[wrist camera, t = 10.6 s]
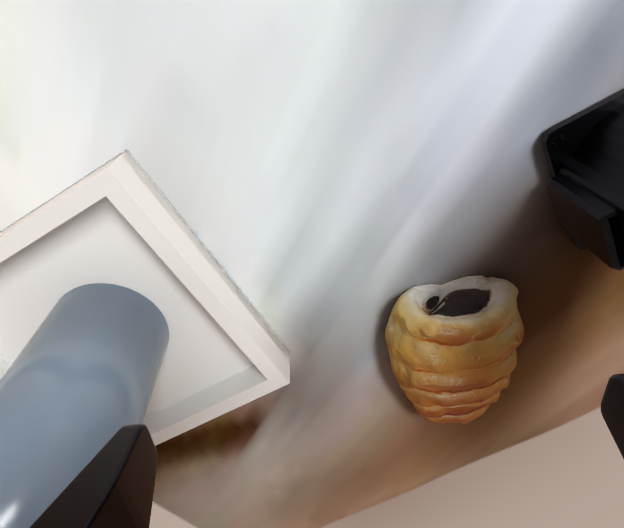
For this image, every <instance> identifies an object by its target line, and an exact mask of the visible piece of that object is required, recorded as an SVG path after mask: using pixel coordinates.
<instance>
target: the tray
mask: <svg viewBox="0 0 624 528" xmlns="http://www.w3.org/2000/svg"><path fill="white" fill-rule="evenodd" d="M93 283H108V284H115V285H119V286H123V287H126V288H129V289H132V290H134V291H136V292H138V293H140V294H142V295H143V296H145V297H146V298H148V299H149V300H150V301H152V302H153V303H154V304H155V305H156V306H157V307H158V309H159V310H160V311H161V312H162V314H163V315H164V317H165V319H166V321H167V324H168V328H169V342H168V346H167V349H166V352H165V355H164V358H163V362H162V365H161V368H160V371H159V374H158V377H157V380H156V383H155V386H154V389H153V393H152V396H151V399H150V402H149V405H148V408H147V411H146V414H145V417H144V420H143V424H145V425H146V426H147V428H148V430H149V433H150V435H151V438H152V440H153V442H154V445H155V446H156V445H158V444H160V443H162V442H164V441H167V440H169V439H171V438H173V437H175V436H177V435H180V434H182V433H184V432H186V431H188V430H190V429H192V428H195V427H197V426H199V425H201V424H203V423H205V422H208V421H210V420H212V419H214V418H216V417H218V416H221V415H223V414H225V413H227V412H229V411H231V410H233V409H236V408H238V407H240V406H242V405H244V404H246V403H249V402H251V401H253V400H255V399H257V398H259V397H261V396H264V395H266V394H268V393H270V392H272V391H274V390H277V389H279V388H281V387H283V386H285V385H287V384H290V351H289V350H288V349H287V348H286V346H285V345H284V344H283V343H282V341H281V340H280V339H279V338H278V336H277V335H276V334H275V333H274V331H273V330H272V329H271V328H270V326H269V325H268V324H267V323H266V322H265V320H264V319H263V318H262V317H261V315H260V314H259V313H258V312H257V310H256V309H255V308H254V307H253V305H252V304H251V303H250V302H249V300H248V299H247V298H246V297H245V296H244V294H243V293H242V292H241V291H240V289H239V288H238V287H237V286H236V284H235V283H234V282H233V281H232V279H231V278H230V277H229V276H228V275H227V273H226V272H225V271H224V270H223V268H222V267H221V266H220V265H219V263H218V262H217V261H216V260H215V258H214V257H213V256H212V255H211V253H210V252H209V251H208V250H207V249H206V247H205V246H204V245H203V244H202V242H201V241H200V240H199V239H198V237H197V236H196V235H195V234H194V232H193V231H192V230H191V229H190V227H189V226H188V225H187V224H186V223H185V221H184V220H183V219H182V218H181V216H180V215H179V214H178V213H177V211H176V210H175V209H174V208H173V206H172V205H171V204H170V203H169V201H168V200H167V199H166V198H165V197H164V195H163V194H162V193H161V192H160V190H159V189H158V188H157V187H156V185H155V184H154V183H153V182H152V180H151V179H150V178H149V177H148V175H147V174H146V173H145V172H144V171H143V169H142V168H141V167H140V166H139V164H138V163H137V162H136V161H135V159H134V158H133V157H132V156H131V154H130V153H129V152H128V151H127V150H125V151H124V152H122V153H121V154H119V155H117V156H116V157H114V158H113V159H111V160H110V161H108V162H107V163H105V164H104V165H102V166H101V167H99V168H98V169H96V170H94V171H93V172H91V173H90V174H88V175H87V176H85V177H84V178H82V179H81V180H79V181H78V182H76V183H75V184H73V185H72V186H70V187H68V188H67V189H65V190H64V191H62V192H61V193H59V194H58V195H56V196H55V197H53V198H52V199H50V200H49V201H47V202H45V203H44V204H42V205H41V206H39V207H38V208H36V209H35V210H33V211H32V212H30V213H29V214H27V215H26V216H24V217H22V218H21V219H19V220H18V221H16V222H15V223H13V224H12V225H10V226H9V227H7V228H6V229H4V230H3V231H1V232H0V380H1V378H2V377H3V376H4V374H5V373H6V371H7V370H8V369H9V367H10V366H11V365H12V363H13V362H14V360H15V359H16V358H17V356H18V355H19V354H20V352H21V351H22V349H23V348H24V347H25V345H26V344H27V343H28V341H29V340H30V338H31V337H32V336H33V334H34V333H35V332H36V330H37V329H38V327H39V326H40V325H41V323H42V322H43V321H44V319H45V318H46V316H47V315H48V314H49V312H50V311H51V310H52V308H53V307H54V305H55V304H56V303H57V301H58V300H59V299H60V298H61V297H62V296H63V295H64V294H65V293H67V292H68V291H70V290H72V289H74V288H76V287H79V286H82V285H87V284H93Z"/></svg>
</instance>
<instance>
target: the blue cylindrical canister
mask: <svg viewBox="0 0 624 528" xmlns="http://www.w3.org/2000/svg"><path fill="white" fill-rule="evenodd" d="M168 342H169V328H168V324H167V321H166V319H165V317H164V315H163V314H162V312H161V311H160V310H159V309H158V307H157V306H156V305H155V304H154V303H153V302H152V301H150V300H149V299H148V298H146V297H145V296H143V295H142V294H140V293H138V292H136V291H134V290H132V289H129V288H126V287H123V286H119V285H115V284H108V283H93V284H87V285H82V286H79V287H76V288H74V289H72V290H70V291H68V292H67V293H65V294H64V295H63V296H62V297H61V298H60V299H59V300H58V301H57V303H56V304H55V305H54V307H53V308H52V310H51V311H50V312H49V314H48V315H47V316H46V318H45V319H44V321H43V322H42V323H41V325H40V326H39V327H38V329H37V330H36V332H35V333H34V334H33V336H32V337H31V338H30V340H29V341H28V343H27V344H26V345H25V347H24V348H23V349H22V351H21V352H20V354H19V355H18V356H17V358H16V359H15V360H14V362H13V363H12V365H11V366H10V367H9V369H8V370H7V371H6V373H5V374H4V376H3V377H2V378H1V380H0V528H29V527H30V526H31V525H32V524H33V523H34V522H35V521H36V520H37V518H38V517H39V516H40V515H41V514H42V513H43V512H44V511H45V510H46V509H47V508H48V506H49V505H50V504H51V503H52V502H53V501H54V500H55V499H56V498H57V497H58V496H59V494H60V493H61V492H62V491H63V490H64V489H65V488H66V487H67V486H68V485H69V484H70V482H71V481H72V480H73V479H74V478H75V477H76V476H77V475H78V474H79V473H80V472H81V470H82V469H83V468H84V467H85V466H86V465H87V464H88V463H89V462H90V461H91V460H92V458H93V457H94V456H95V455H96V454H97V453H98V452H99V451H100V450H101V449H102V448H103V446H104V445H105V444H106V443H107V442H108V441H109V440H110V439H111V438H112V437H113V435H114V434H115V433H116V432H117V431H118V430H119V429H120V428H121V427H123V426H125V425H132V424H143V420H144V417H145V414H146V411H147V408H148V405H149V402H150V399H151V396H152V393H153V389H154V386H155V383H156V380H157V377H158V374H159V371H160V368H161V365H162V362H163V358H164V355H165V352H166V349H167V346H168Z"/></svg>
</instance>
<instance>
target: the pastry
mask: <svg viewBox="0 0 624 528" xmlns="http://www.w3.org/2000/svg"><path fill="white" fill-rule="evenodd" d="M517 295H518V289H517V288H516V286H515V285H514V284H512V283H511V282H509V281H508V280H505V279H498V278H495V277H489V278H486V277H484V276H482V275H477V276H465V277H463V278H460V279H456V280H452V281H449V282H447V283H444V284H442V285H436V284H427V285H420V286H414V287H412V288H410V289H409V290H407V291H406V292H405V293H404V294H402V295H401V296H400V297H399V299H398V300H397V302H396V303H395V305H394V307H393V309H392V312H391V314H390V317H389V320H388V323H387V326H386V329H385V341H386V343H387V346H388V350H389V355H390V359H391V368H392V372H393V373H394V374H395V376H396V378H397V381H398V383H399V385H400V387H401V388H402V389H403V390H404V393H405V395H406V397H407V398H408V399H410V401H411V402H412V403H413V405H414V407H415V410H416V411H417V413H419V414H420V415H421V416H422V417H423V418H424V419H425V420H427V421H429V422H432V423H452V422H458V423H461V424H467V423H469V422H471V421H472V420H474V419H476V418H478V417H480V416H481V415H482V414H483V413H484V412H485V411H486V409H487V408H488V407H489V406H490V404H492V403H495V402H497V401H498V399H499V396H500V391H501V390H502V389H505V388H507V387H508V385H509V382H510V373H511V372H512V371H513V370H514V369H515V367H516V365H517V353H516V348H517V347H518V346H519V345H520V344H521V343H522V341H523V338H524V325H523V323H522V320H521V317H520V315H519V312H518V308H517Z"/></svg>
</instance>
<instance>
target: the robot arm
mask: <svg viewBox="0 0 624 528" xmlns="http://www.w3.org/2000/svg"><path fill="white" fill-rule="evenodd" d="M556 135H559V139H558V141H557V142H556V143H554V144H552V140H553V138H554V137H555V136H556ZM541 141H542V146H543V150H544V153H545V156H546V159H547V163H548V166H549V169H550V172H551V175H552V178H550V180H549V183H548V187H549V191H550V194H551V197H552V200H553V203H554V206H555V209H556V212H557V216H558V219H559V222H560V225H561V227H562V228H563V229H565V230H566V231H567V232H568V233H569V234H570V237H571V240H572V242H573V244H574V245H576V246H577V247H578V248H580V249H589V250H590V251H591V252H592V253H594V254H595V255H596V256H597V257H598V258H600V259H601V260H602V261H603V262H604V263H606V264H607V265H608V266H609V267H610V268H612V269H616V270H622V269H624V89H623V90H621V91H619V92H617V93H615V94H613V95H611V96H609V97H607V98H606V99H604V100H602V101H600V102H598V103H596V104H594V105H592V106H590V107H589V108H587V109H585V110H583V111H581V112H579V113H577V114H575V115H573V116H572V117H570V118H568V119H566V120H564V121H562V122H560V123H558V124H556V125H555V126H553V127H551V128H549V129H548V130H547V131H546V132H545V133H544V134H543V136H542V139H541ZM601 412H602V416H603V418H604V420H605V422H606V424H607V426H608V428H609V430H610V432H611V434H612V436H613V438H614V440H615V442H616V444H617V446H618V448H619V450H620V452H621V454H622V456H623V458H624V374H615V375H613V376H611V377H610V379H609V381H608V384H607V387H606V390H605V393H604V396H603V399H602V402H601ZM157 462H158V456H157V450H156V447H155V445H154V442H153V440H152V438H151V435H150V433H149V430H148V428H147V426H146V425H145V424H132V425H125V426H123V427H121V428H120V429H119V430H118V431H117V432H116V433H115V434H114V435H113V437H112V438H111V439H110V440H109V441H108V442H107V443H106V444H105V445H104V446H103V448H102V449H101V450H100V451H99V452H98V453H97V454H96V455H95V456H94V457H93V458H92V460H91V461H90V462H89V463H88V464H87V465H86V466H85V467H84V468H83V469H82V470H81V472H80V473H79V474H78V475H77V476H76V477H75V478H74V479H73V480H72V481H71V482H70V484H69V485H68V486H67V487H66V488H65V489H64V490H63V491H62V492H61V493H60V494H59V496H58V497H57V498H56V499H55V500H54V501H53V502H52V503H51V504H50V505H49V506H48V508H47V509H46V510H45V511H44V512H43V513H42V514H41V515H40V516H39V517H38V518H37V520H36V521H35V522H34V523H33V524H32V525H31V526H30V527H29V528H149V523H150V516H151V508H152V501H153V493H154V485H155V478H156V470H157Z"/></svg>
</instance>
